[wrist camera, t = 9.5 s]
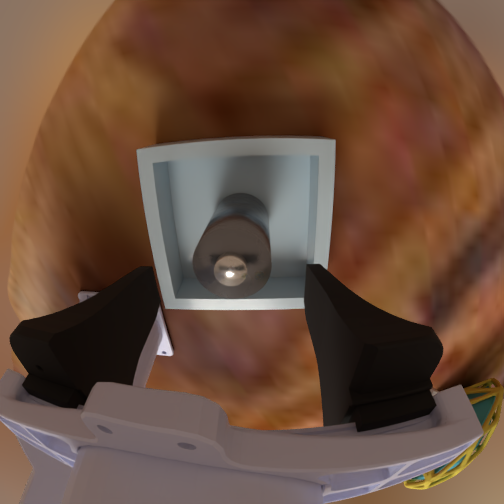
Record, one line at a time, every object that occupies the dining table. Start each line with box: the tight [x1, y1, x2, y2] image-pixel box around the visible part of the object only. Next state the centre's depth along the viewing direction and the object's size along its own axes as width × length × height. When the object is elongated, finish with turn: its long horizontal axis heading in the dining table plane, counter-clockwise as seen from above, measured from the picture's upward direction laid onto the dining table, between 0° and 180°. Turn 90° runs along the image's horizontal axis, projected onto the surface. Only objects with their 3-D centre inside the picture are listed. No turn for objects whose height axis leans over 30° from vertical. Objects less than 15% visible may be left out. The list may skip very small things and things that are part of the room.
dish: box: [136, 136, 336, 310], centre depth 19 cm, size 12×12×4 cm
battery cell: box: [192, 193, 272, 299], centre depth 17 cm, size 4×4×8 cm
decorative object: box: [404, 378, 504, 489], centre depth 29 cm, size 23×23×15 cm
